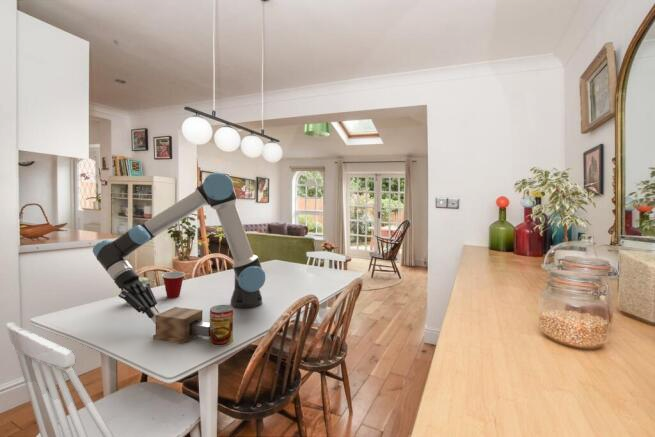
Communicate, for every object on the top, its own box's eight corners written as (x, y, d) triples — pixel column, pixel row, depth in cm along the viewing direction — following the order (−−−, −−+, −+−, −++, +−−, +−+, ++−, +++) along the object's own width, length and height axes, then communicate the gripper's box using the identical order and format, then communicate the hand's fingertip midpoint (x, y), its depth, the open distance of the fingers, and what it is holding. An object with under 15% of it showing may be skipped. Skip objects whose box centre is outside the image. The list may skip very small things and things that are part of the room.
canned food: (207, 346, 108) (208, 312, 108) (211, 337, 116) (211, 305, 115) (231, 345, 110) (232, 311, 109) (233, 336, 117) (234, 304, 117)
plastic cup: (160, 300, 157) (160, 276, 157) (162, 294, 167) (162, 272, 167) (184, 298, 162) (184, 275, 161) (184, 293, 171) (185, 271, 171)
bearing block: (153, 339, 113) (153, 315, 113) (174, 327, 124) (175, 306, 123) (184, 343, 110) (184, 319, 110) (204, 331, 121) (204, 309, 120)
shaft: (158, 332, 116) (158, 319, 116) (167, 327, 121) (167, 315, 120) (207, 339, 111) (207, 325, 111) (215, 334, 116) (215, 321, 116)
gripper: (132, 277, 129) (166, 322, 125) (102, 285, 116) (139, 335, 113) (143, 265, 127) (178, 311, 124) (114, 272, 115) (152, 322, 111)
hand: (159, 322), depth 118 cm, fingers closed
